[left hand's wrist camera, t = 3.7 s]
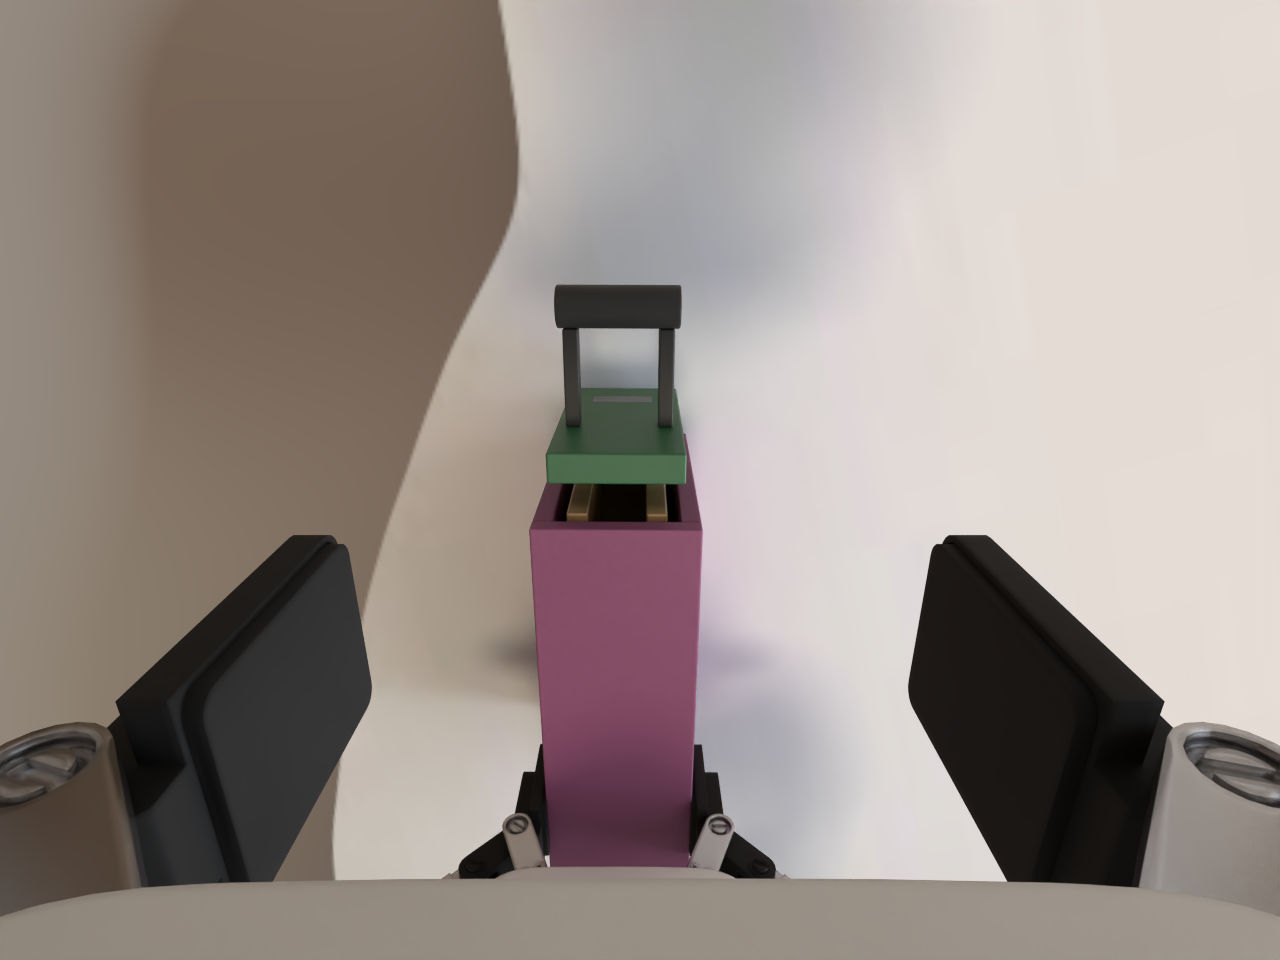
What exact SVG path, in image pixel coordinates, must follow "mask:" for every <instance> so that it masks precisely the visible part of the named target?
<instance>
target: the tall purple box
mask: <svg viewBox="0 0 1280 960" xmlns="http://www.w3.org/2000/svg"><path fill="white" fill-rule="evenodd" d="M683 436H684V442H685V448H686V454H687V466H686V483H685V484H665V485H666V499H667V513H668V522H567V516H566V514H567V510H568V506H569V503H570V499H571V495H572V491H573V487H574V484H549V483H548V482H547V483H546V486H545V488H544V491H543V494H542V497H541V499H540V502H539V505H538V508H537V511H536V513H535V516H534V519H533V522H532V524H531V527H530V530H529V533H530V550H531V566H532V582H533V598H534V614H535V630H536V646H537V662H538V678H539V694H540V710H541V726H542V742H543V758H544V774H545V791H546V801H547V815H548V832H549V848H550V852H549V855H550V867H682V868H686V866H687V864H688V862H689V854H690V853H689V849H690V825H691V801H692V781H693V756H694V732H695V708H696V683H697V659H698V635H699V610H700V586H701V562H702V537H703V530H702V524H701V518H700V513H699V507H698V501H697V496H696V490H695V484H694V479H693V473H692V467H691V462H690V456H689V450H688V445H687V439H686V435H685V434H683Z"/></svg>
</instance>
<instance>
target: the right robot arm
mask: <svg viewBox="0 0 1280 960" xmlns="http://www.w3.org/2000/svg"><path fill="white" fill-rule="evenodd" d="M502 827H503V831H502V832H500V833H499V834H497V835H496V836H495V837H493V838H492V839H490V840H489V841H488V842H486V843H485V844H483V845H482V846H480V847H479V848H478V849H476V850H475V851H473V852H472V853H471V854H469V855H468V856H466V857H465V858H464V859H463V860H462V861H461V863H460V865H459V868H458V870H457V871H455V872H454V873H453V874H450V873H449V874H448V875H446V876H445V877H443V878H442V879H570V878H710V879H790V878H789V877H788V876H786V875H785V874H784V875H782V874H780V873H779V872H778V871H777V870H776V868H775V864H774V863H773V861H772V860H771V859H770V858H769V857H767V856H766V855H765V854H763V853H762V852H761V851H759V850H758V849H757V848H755V847H754V846H753V845H751V844H750V843H749V842H747V841H746V840H745V839H743V838H742V837H741V836H739V835H738V834H737V833H735V832H734V824H733V822H732V820H731V819H730V818H729V817H728V816H726V815H723V808H722V801H721V793H720V786H719V778H718V773H715V772H705V770H704V761H703V752H702V745H694V756H693V781H692V801H691V825H690V849H689V853H690V856H691V857H690V859H689V862H688V864H687V866H686V868H682V867H547V864H546V861H545V855H549V852H550V848H549V832H548V815H547V801H546V791H545V774H544V758H543V744H540V748H539V754H538V759H537V765H536V770H535V772H524V773H523V776H522V781H521V786H520V791H519V796H518V801H517V806H516V810H515V814H512V815H510V816H509V817H507V818H506V819H505V821H504V822H503V826H502Z"/></svg>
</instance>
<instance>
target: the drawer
mask: <svg viewBox="0 0 1280 960" xmlns="http://www.w3.org/2000/svg"><path fill="white" fill-rule="evenodd" d="M681 306H682V295H681V286H680V285H556V287H555V294H554V311H555V322H556V326H557V328H563V330H562V336H563V363H564V389H565V409H564V411H563V414H562V416H561V418H560V421H559V423H558V426H557V428H556V431H555V433H554V436H553V438H552V441H551V443H550V446H549V448H548V451H547V453H546V469H547V482H548V483H549V484H574V487H573V491H572V495H571V499H570V503H569V506H568V510H567V514H566V516H567V522H668V513H667V499H666V485H665V484H685V483H686V466H687V454H686V448H685V442H684V436H683V430H682V424H681V418H680V412H679V406H678V400H677V394H676V389H674V351H675V329H679V328H680V326H681ZM579 328H649V329H659V365H658V389H623V388H581V379H580V344H579Z"/></svg>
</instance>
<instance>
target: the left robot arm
mask: <svg viewBox="0 0 1280 960" xmlns="http://www.w3.org/2000/svg"><path fill="white" fill-rule="evenodd" d="M371 692H372V684H371V677H370V671H369V665H368V660H367V654H366V648H365V642H364V637H363V631H362V625H361V620H360V614H359V608H358V603H357V597H356V591H355V585H354V580H353V574H352V568H351V563H350V557H349V552H348V549H347V548H346V546H345V545H344V544H337V542H336V540H335V538H334V537H333V536H331V535H293V536H292V537H290V538H289V539H288V540H287V541H286V542H285V543H284V544H282V545H281V546H280V547H279V548H278V549H277V550H276V551H275V552H274V553H273V554H272V555H271V556H270V557H269V558H268V559H266V560H265V561H264V562H263V563H262V564H261V565H260V566H259V567H258V568H257V569H256V570H255V571H254V572H253V573H252V574H251V575H249V576H248V577H247V578H246V579H245V580H244V581H243V582H242V583H241V584H240V585H239V586H238V587H237V588H236V589H235V590H233V591H232V592H231V593H230V594H229V595H228V596H227V597H226V598H225V599H224V600H223V601H222V602H221V603H220V604H219V605H218V606H217V607H215V608H214V609H213V610H212V611H211V612H210V613H209V614H208V615H207V616H206V617H205V618H204V619H203V620H202V621H201V622H200V623H198V624H197V625H196V626H195V627H194V628H193V629H192V630H191V631H190V632H189V633H188V634H187V635H186V636H185V637H184V638H182V639H181V640H180V641H179V642H178V643H177V644H176V645H175V646H174V647H173V648H172V649H171V650H170V651H169V652H168V653H167V654H165V655H164V656H163V657H162V658H161V659H160V660H159V661H158V662H157V663H156V664H155V665H154V666H153V667H152V668H151V669H150V670H148V671H147V672H146V673H145V674H144V675H143V676H142V677H141V678H140V679H139V680H138V681H137V682H136V683H135V684H134V685H132V686H131V687H130V688H129V689H128V690H127V691H126V692H125V693H124V694H123V695H122V696H121V697H120V698H119V699H118V700H117V701H116V705H117V707H118V710H119V713H120V716H119V717H118V718H117V719H116V720H115V721H114V722H113V723H111V725H109V726H108V727H107V728H106V727H103V726H101V725H99V724H96V723H85V722H74V723H68V724H60V725H54V726H51V727H47V728H44V729H40V730H37V731H34V732H30V733H28V734H26V735H23V736H21V737H19V738H16V739H14V740H11V741H9V742H7V743H5V744H3V745H1V746H0V960H1280V746H1279V745H1277V744H1275V743H1273V742H1271V741H1269V740H1266V739H1264V738H1261V737H1259V736H1257V735H1254V734H1252V733H1250V732H1247V731H1243V730H1240V729H1236V728H1233V727H1229V726H1226V725H1220V724H1213V723H1206V722H1195V723H1184V724H1181V725H1179V726H1177V727H1174V728H1173V727H1172V726H1171V725H1170V724H1169V723H1167V722H1166V721H1165V720H1164V719H1163V718H1162V717H1161V716H1160V713H1161V710H1162V707H1163V705H1164V702H1165V701H1163V700H1162V699H1161V698H1160V697H1159V696H1158V695H1157V694H1156V693H1155V692H1154V691H1153V690H1152V689H1151V688H1150V687H1149V686H1148V685H1146V684H1145V683H1144V682H1143V681H1142V680H1141V679H1140V678H1139V677H1138V676H1137V675H1136V674H1135V673H1134V672H1133V671H1132V670H1131V669H1129V668H1128V667H1127V666H1126V665H1125V664H1124V663H1123V662H1122V661H1121V660H1120V659H1119V658H1118V657H1117V656H1116V655H1115V654H1114V653H1112V652H1111V651H1110V650H1109V649H1108V648H1107V647H1106V646H1105V645H1104V644H1103V643H1102V642H1101V641H1100V640H1099V639H1098V638H1097V637H1095V636H1094V635H1093V634H1092V633H1091V632H1090V631H1089V630H1088V629H1087V628H1086V627H1085V626H1084V625H1083V624H1082V623H1081V622H1079V621H1078V620H1077V619H1076V618H1075V617H1074V616H1073V615H1072V614H1071V613H1070V612H1069V611H1068V610H1067V609H1066V608H1065V607H1064V606H1062V605H1061V604H1060V603H1059V602H1058V601H1057V600H1056V599H1055V598H1054V597H1053V596H1052V595H1051V594H1050V593H1049V592H1048V591H1047V590H1045V589H1044V588H1043V587H1042V586H1041V585H1040V584H1039V583H1038V582H1037V581H1036V580H1035V579H1034V578H1033V577H1032V576H1031V575H1030V574H1028V573H1027V572H1026V571H1025V570H1024V569H1023V568H1022V567H1021V566H1020V565H1019V564H1018V563H1017V562H1016V561H1015V560H1014V559H1012V558H1011V557H1010V556H1009V555H1008V554H1007V553H1006V552H1005V551H1004V550H1003V549H1002V548H1001V547H1000V546H999V545H998V544H997V543H995V542H994V541H993V540H992V539H991V538H990V537H988V536H987V535H949V536H947V537H946V538H945V540H944V541H943V544H936V545H935V546H934V547H933V549H932V552H931V557H930V563H929V568H928V574H927V580H926V585H925V591H924V597H923V603H922V608H921V614H920V620H919V625H918V631H917V637H916V642H915V648H914V654H913V660H912V665H911V671H910V677H909V684H908V692H909V699H910V702H911V705H912V707H913V709H914V711H915V713H916V715H917V717H918V718H919V720H920V722H921V724H922V726H923V728H924V729H925V731H926V733H927V735H928V737H929V739H930V740H931V742H932V744H933V746H934V748H935V750H936V751H937V753H938V755H939V757H940V759H941V761H942V762H943V764H944V766H945V768H946V770H947V772H948V773H949V775H950V777H951V779H952V781H953V783H954V784H955V786H956V788H957V790H958V792H959V794H960V795H961V797H962V799H963V801H964V803H965V805H966V806H967V808H968V810H969V812H970V814H971V816H972V817H973V819H974V821H975V823H976V825H977V827H978V828H979V830H980V832H981V834H982V836H983V838H984V839H985V841H986V843H987V845H988V847H989V849H990V850H991V852H992V854H993V856H994V858H995V860H996V861H997V863H998V865H999V867H1000V869H1001V871H1002V872H1003V874H1004V876H1005V878H1006V880H1007V882H987V881H937V880H888V879H710V878H570V879H392V880H342V881H293V882H273V880H274V878H275V876H276V874H277V872H278V870H279V869H280V867H281V865H282V863H283V861H284V860H285V858H286V856H287V854H288V852H289V850H290V849H291V847H292V845H293V843H294V841H295V839H296V838H297V836H298V834H299V832H300V830H301V828H302V827H303V825H304V823H305V821H306V819H307V817H308V816H309V814H310V812H311V810H312V808H313V806H314V804H315V803H316V801H317V799H318V797H319V795H320V794H321V792H322V790H323V788H324V786H325V784H326V783H327V781H328V779H329V777H330V775H331V773H332V772H333V770H334V768H335V766H336V764H337V762H338V761H339V759H340V757H341V755H342V753H343V751H344V750H345V748H346V746H347V744H348V742H349V740H350V739H351V737H352V735H353V733H354V731H355V729H356V728H357V726H358V724H359V722H360V720H361V718H362V717H363V715H364V713H365V711H366V709H367V707H368V705H369V702H370V699H371Z"/></svg>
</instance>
